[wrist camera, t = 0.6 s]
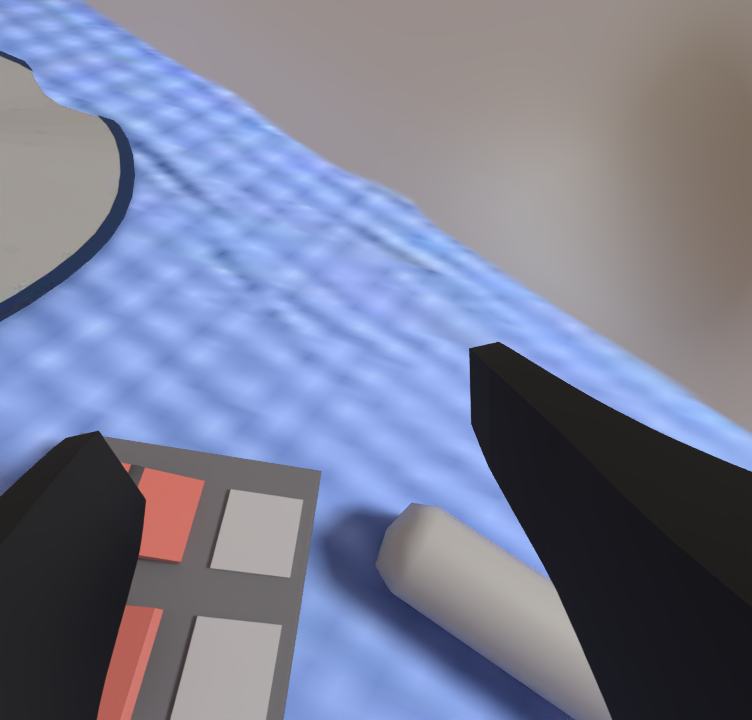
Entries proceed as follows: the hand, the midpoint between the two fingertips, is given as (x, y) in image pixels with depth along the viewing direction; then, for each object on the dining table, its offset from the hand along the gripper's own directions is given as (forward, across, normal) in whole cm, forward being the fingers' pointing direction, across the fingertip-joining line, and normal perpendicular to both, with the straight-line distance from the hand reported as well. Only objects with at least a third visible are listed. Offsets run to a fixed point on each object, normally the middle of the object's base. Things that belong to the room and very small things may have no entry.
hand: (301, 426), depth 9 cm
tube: (+2, -9, +23) cm, 25 cm away
